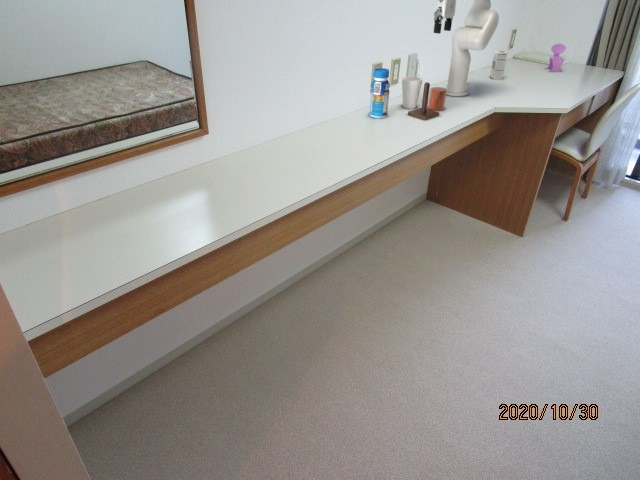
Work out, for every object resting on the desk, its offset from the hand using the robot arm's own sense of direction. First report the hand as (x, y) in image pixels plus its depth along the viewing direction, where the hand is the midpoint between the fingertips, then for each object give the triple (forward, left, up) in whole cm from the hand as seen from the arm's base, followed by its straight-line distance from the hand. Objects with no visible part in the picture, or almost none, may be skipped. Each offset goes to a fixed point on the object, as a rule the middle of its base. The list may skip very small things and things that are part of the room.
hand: (442, 31), depth 203 cm
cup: (+5, +6, -32) cm, 33 cm away
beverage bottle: (+34, -4, -32) cm, 47 cm away
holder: (+18, +9, -32) cm, 38 cm away
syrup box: (-70, -9, -32) cm, 78 cm away
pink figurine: (-115, +3, -32) cm, 120 cm away
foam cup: (+12, -4, -32) cm, 35 cm away
